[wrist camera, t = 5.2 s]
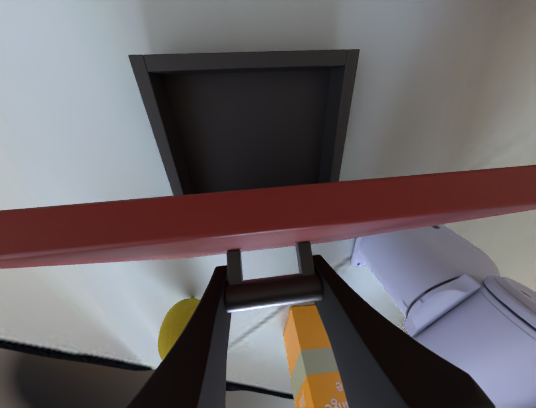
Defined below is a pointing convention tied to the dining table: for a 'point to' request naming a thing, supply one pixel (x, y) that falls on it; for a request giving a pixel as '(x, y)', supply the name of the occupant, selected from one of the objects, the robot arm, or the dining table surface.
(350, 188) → the lid
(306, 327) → the orange juice
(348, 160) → the dining table surface
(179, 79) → the dark grey open tray
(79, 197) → the dining table surface
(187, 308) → the lemon
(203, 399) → the robot arm
